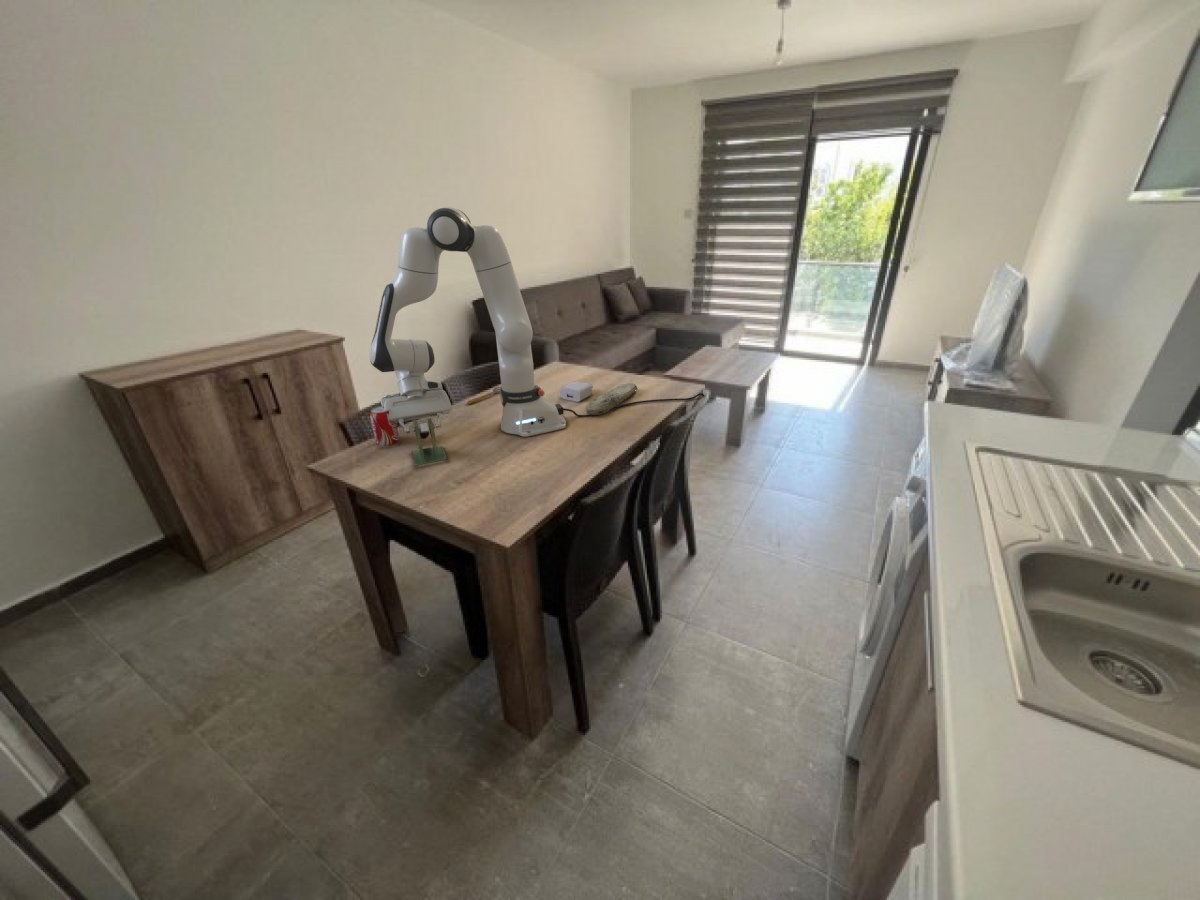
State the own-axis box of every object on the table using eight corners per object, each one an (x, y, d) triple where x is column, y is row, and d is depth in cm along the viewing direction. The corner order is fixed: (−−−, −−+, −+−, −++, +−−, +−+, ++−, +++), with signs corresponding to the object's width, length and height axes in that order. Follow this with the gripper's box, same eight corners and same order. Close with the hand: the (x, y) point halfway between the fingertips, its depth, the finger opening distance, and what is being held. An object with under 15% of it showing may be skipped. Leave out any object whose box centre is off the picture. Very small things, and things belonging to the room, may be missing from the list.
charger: (599, 391, 198) (579, 402, 187) (580, 387, 203) (560, 398, 191) (599, 380, 196) (579, 390, 185) (580, 376, 200) (560, 387, 189)
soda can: (392, 449, 150) (384, 413, 145) (371, 447, 152) (363, 412, 146) (404, 439, 157) (397, 405, 151) (385, 438, 158) (377, 404, 152)
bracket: (412, 454, 147) (405, 418, 142) (442, 448, 151) (436, 413, 145) (415, 468, 139) (408, 431, 134) (447, 462, 142) (441, 425, 137)
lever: (418, 440, 152) (416, 429, 152) (430, 438, 153) (427, 427, 153) (418, 434, 138) (416, 422, 138) (431, 432, 140) (429, 420, 140)
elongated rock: (643, 394, 199) (621, 391, 203) (643, 381, 197) (621, 379, 201) (603, 418, 170) (579, 414, 175) (602, 404, 168) (578, 400, 173)
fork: (469, 401, 183) (505, 386, 198) (465, 399, 184) (502, 384, 199) (469, 407, 185) (505, 391, 199) (465, 405, 186) (502, 389, 200)
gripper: (378, 391, 148) (387, 432, 145) (445, 382, 156) (455, 420, 152) (380, 400, 154) (389, 439, 150) (445, 390, 161) (455, 427, 158)
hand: (423, 429), depth 151 cm, fingers open, 8 cm apart
